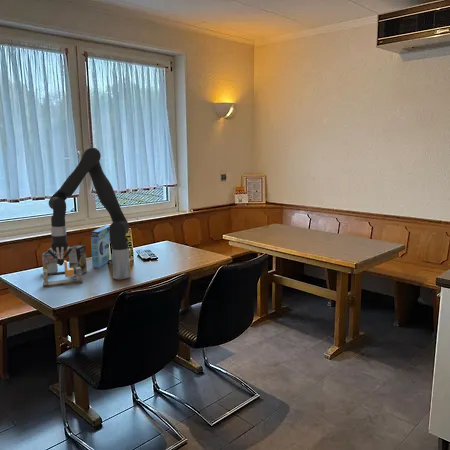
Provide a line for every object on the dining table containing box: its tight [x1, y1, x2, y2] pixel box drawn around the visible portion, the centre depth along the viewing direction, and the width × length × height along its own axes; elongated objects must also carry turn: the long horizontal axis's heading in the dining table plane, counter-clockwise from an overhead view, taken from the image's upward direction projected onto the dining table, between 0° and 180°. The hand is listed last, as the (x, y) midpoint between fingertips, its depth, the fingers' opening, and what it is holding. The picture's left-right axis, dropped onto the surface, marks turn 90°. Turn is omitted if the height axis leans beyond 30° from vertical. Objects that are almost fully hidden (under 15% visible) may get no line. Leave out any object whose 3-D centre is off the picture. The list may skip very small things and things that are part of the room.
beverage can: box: [41, 251, 59, 273], centre depth 258 cm, size 9×8×12 cm
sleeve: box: [63, 260, 75, 278], centre depth 239 cm, size 4×4×8 cm
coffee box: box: [68, 244, 88, 276], centre depth 257 cm, size 9×6×16 cm
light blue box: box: [90, 225, 110, 269], centre depth 276 cm, size 20×5×23 cm, turn 169°
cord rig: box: [42, 267, 83, 288], centre depth 239 cm, size 20×6×8 cm, turn 113°
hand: (60, 265), depth 237 cm, fingers closed
